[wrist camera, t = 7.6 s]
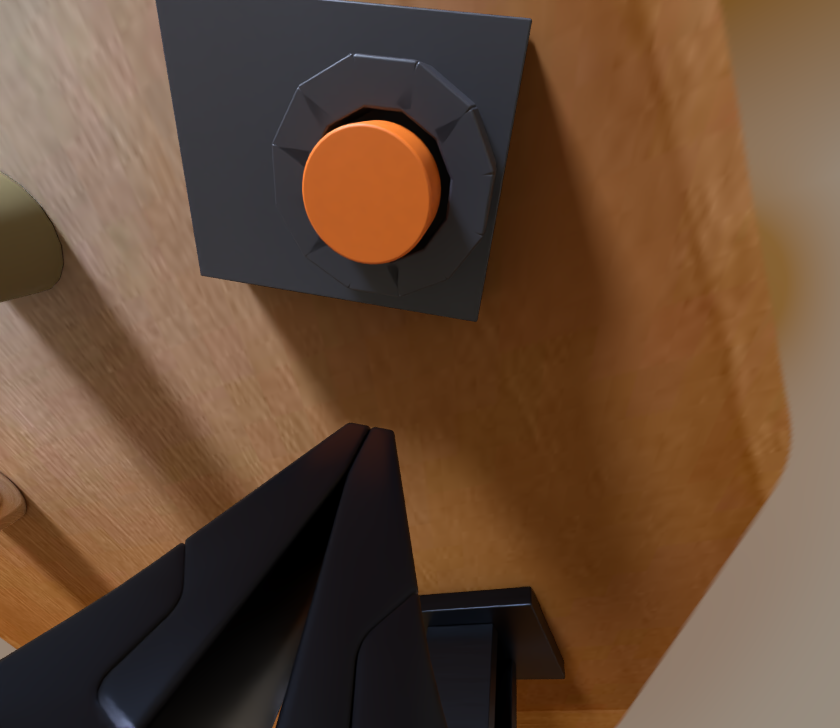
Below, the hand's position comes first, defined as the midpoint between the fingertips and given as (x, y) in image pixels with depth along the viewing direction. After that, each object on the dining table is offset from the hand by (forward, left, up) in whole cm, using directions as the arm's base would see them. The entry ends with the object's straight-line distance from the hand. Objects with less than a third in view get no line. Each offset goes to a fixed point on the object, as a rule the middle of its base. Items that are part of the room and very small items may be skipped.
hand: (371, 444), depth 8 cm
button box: (+4, -3, -11) cm, 12 cm away
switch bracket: (-5, +25, -11) cm, 28 cm away
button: (+2, -3, -8) cm, 9 cm away
